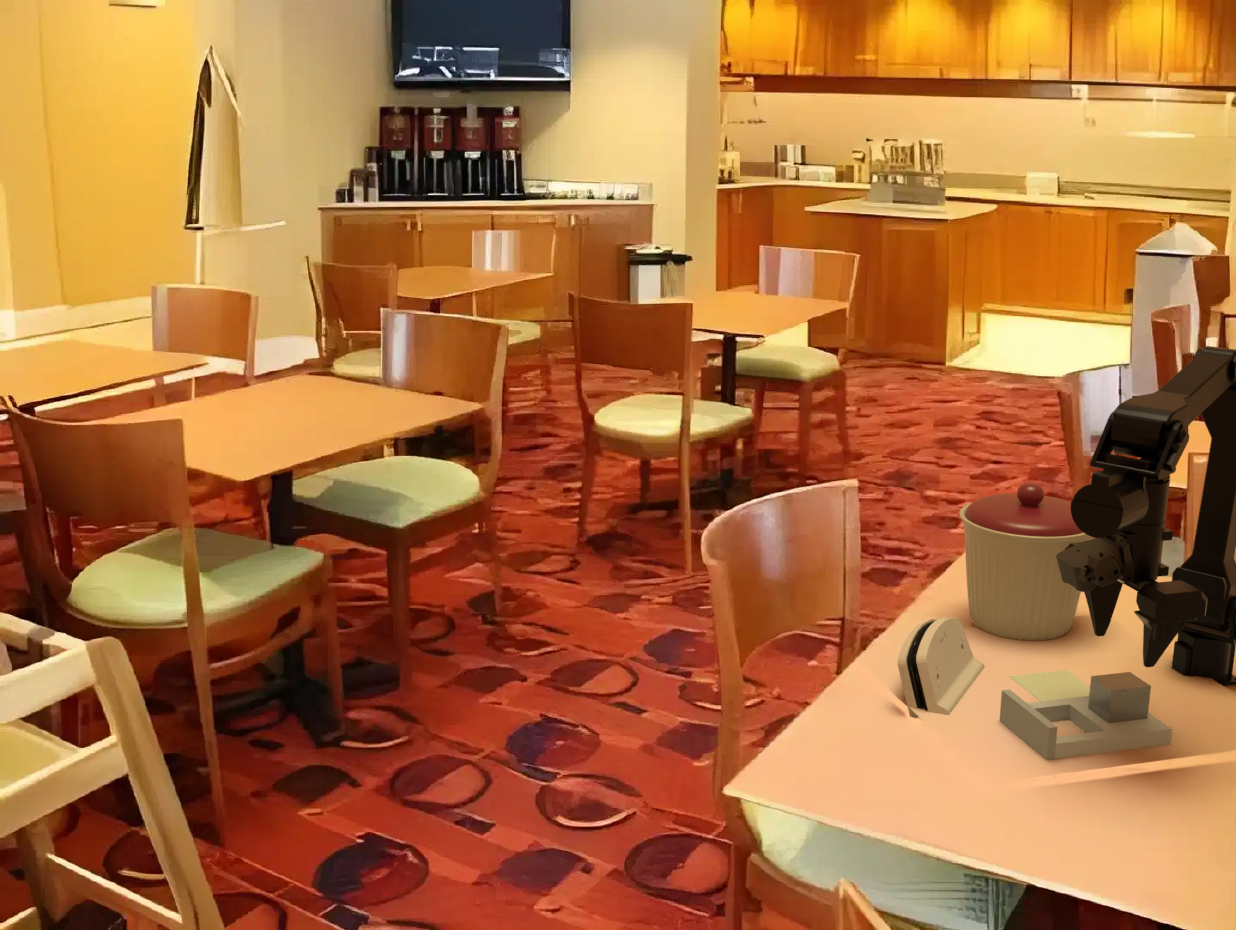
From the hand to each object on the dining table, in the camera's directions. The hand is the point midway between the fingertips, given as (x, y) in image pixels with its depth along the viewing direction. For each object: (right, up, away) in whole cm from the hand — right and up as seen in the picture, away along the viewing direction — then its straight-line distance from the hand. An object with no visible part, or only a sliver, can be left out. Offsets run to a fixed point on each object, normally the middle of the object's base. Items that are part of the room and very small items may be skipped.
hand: (1123, 650), depth 152 cm
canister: (-1, -2, +34) cm, 34 cm away
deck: (-4, -11, +2) cm, 11 cm away
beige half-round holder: (-17, -8, +15) cm, 24 cm away
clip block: (0, -7, +2) cm, 8 cm away
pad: (-3, -7, +14) cm, 16 cm away
